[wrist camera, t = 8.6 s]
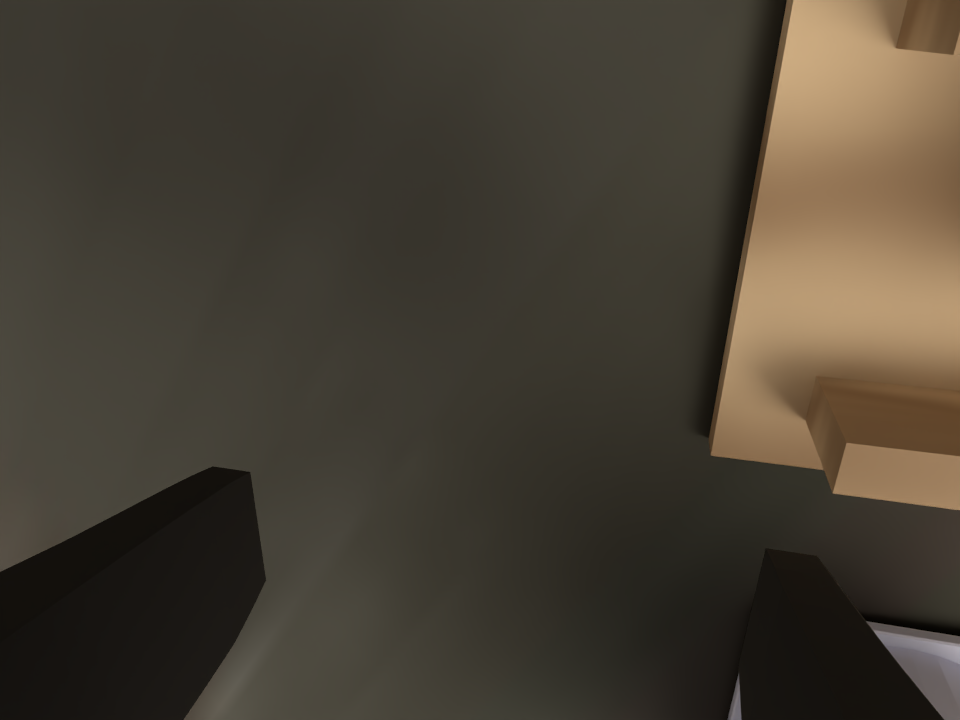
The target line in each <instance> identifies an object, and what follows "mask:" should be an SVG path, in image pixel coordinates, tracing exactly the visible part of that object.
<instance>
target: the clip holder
mask: <svg viewBox="0 0 960 720" xmlns="http://www.w3.org/2000/svg"><path fill="white" fill-rule="evenodd" d="M709 446H710V454H711V456H718V457H726V458H734V459H741V460H749V461H757V462H765V463H773V464H781V465H789V466H797V467H805V468H812V469H820V470H824V471H825V474H826V477H827V479H828V482H829V485H830V487H831V490H832V493H834V494H842V495H849V496H857V497H864V498H872V499H879V500H887V501H894V502H902V503H910V504H917V505H925V506H932V507H940V508H947V509H955V510H960V0H787V2H786V8H785V14H784V19H783V25H782V30H781V36H780V42H779V47H778V53H777V59H776V64H775V70H774V75H773V81H772V87H771V92H770V98H769V103H768V109H767V115H766V120H765V126H764V131H763V137H762V143H761V148H760V154H759V160H758V165H757V171H756V176H755V182H754V188H753V193H752V199H751V204H750V210H749V216H748V221H747V227H746V233H745V238H744V244H743V249H742V255H741V261H740V266H739V272H738V277H737V283H736V289H735V294H734V300H733V306H732V311H731V317H730V322H729V328H728V334H727V339H726V345H725V350H724V356H723V362H722V367H721V373H720V378H719V384H718V390H717V395H716V401H715V407H714V412H713V418H712V423H711V429H710V435H709Z"/></svg>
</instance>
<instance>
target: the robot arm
mask: <svg viewBox="0 0 960 720" xmlns="http://www.w3.org/2000/svg"><path fill="white" fill-rule="evenodd" d="M265 581H266V577H265V571H264V564H263V557H262V550H261V543H260V536H259V529H258V523H257V516H256V509H255V502H254V495H253V488H252V481H251V475H250V472H246V471H239V470H233V469H226V468H219V467H211V468H208V469H206V470H204V471H201V472H199V473H197V474H195V475H193V476H190V477H188V478H186V479H184V480H182V481H180V482H178V483H176V484H174V485H172V486H170V487H168V488H166V489H164V490H162V491H161V492H159V493H157V494H155V495H153V496H151V497H149V498H147V499H145V500H143V501H141V502H139V503H137V504H136V505H134V506H132V507H130V508H128V509H126V510H124V511H122V512H120V513H118V514H116V515H114V516H112V517H111V518H109V519H107V520H105V521H103V522H101V523H99V524H97V525H95V526H93V527H91V528H89V529H87V530H85V531H84V532H82V533H80V534H78V535H76V536H74V537H72V538H70V539H68V540H66V541H64V542H62V543H60V544H58V545H56V546H54V547H51V548H49V549H47V550H45V551H43V552H41V553H39V554H37V555H35V556H33V557H31V558H29V559H26V560H24V561H22V562H20V563H18V564H16V565H14V566H12V567H10V568H8V569H6V570H3V571H1V572H0V720H183V719H184V718H185V716H186V715H187V714H188V712H189V711H190V709H191V708H192V706H193V705H194V703H195V702H196V700H197V699H198V697H199V696H200V694H201V693H202V691H203V690H204V688H205V687H206V685H207V684H208V682H209V681H210V679H211V678H212V676H213V675H214V673H215V672H216V670H217V669H218V667H219V666H220V664H221V663H222V661H223V660H224V658H225V657H226V655H227V654H228V652H229V651H230V649H231V648H232V646H233V644H234V643H235V641H236V639H237V637H238V635H239V633H240V631H241V630H242V628H243V626H244V624H245V622H246V620H247V618H248V616H249V614H250V612H251V610H252V608H253V606H254V604H255V602H256V600H257V598H258V596H259V593H260V591H261V589H262V587H263V585H264V583H265ZM728 720H960V636H954V635H948V634H942V633H936V632H930V631H924V630H917V629H911V628H905V627H899V626H893V625H887V624H880V623H874V622H868V621H866V620H865V619H864V618H863V617H862V615H861V614H860V613H859V611H858V610H857V609H856V607H855V606H854V605H853V603H852V602H851V600H850V599H849V598H848V596H847V595H846V594H845V592H844V591H843V590H842V588H841V587H840V586H839V584H838V583H837V582H836V580H835V579H834V578H833V576H832V575H831V574H830V572H829V571H828V570H827V568H826V567H825V566H824V565H823V563H822V562H821V561H820V559H819V558H818V557H817V556H813V555H806V554H800V553H793V552H786V551H779V550H773V549H766V550H765V554H764V559H763V563H762V567H761V571H760V576H759V580H758V584H757V588H756V593H755V597H754V601H753V605H752V609H751V614H750V618H749V622H748V626H747V631H746V635H745V639H744V643H743V648H742V652H741V656H740V660H739V674H738V678H737V682H736V686H735V691H734V695H733V699H732V703H731V707H730V712H729V716H728Z"/></svg>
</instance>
